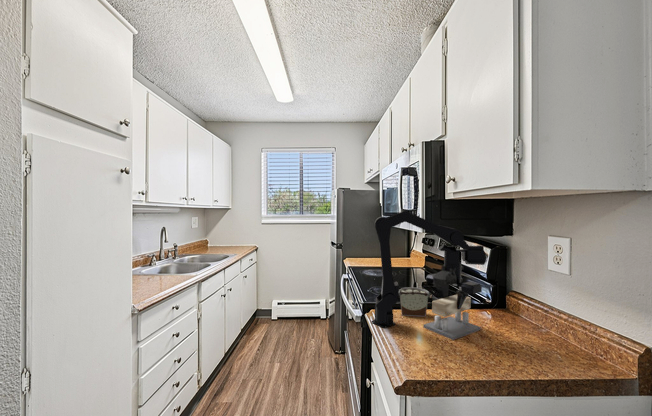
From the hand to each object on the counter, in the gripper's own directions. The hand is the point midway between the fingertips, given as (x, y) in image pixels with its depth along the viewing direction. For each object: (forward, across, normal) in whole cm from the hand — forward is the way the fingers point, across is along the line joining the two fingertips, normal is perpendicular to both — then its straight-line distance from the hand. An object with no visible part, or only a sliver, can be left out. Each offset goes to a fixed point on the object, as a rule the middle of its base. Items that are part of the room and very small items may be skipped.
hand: (451, 307), depth 108 cm
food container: (+8, -18, 0) cm, 20 cm away
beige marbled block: (+1, 0, 0) cm, 1 cm away
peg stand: (+8, 0, 0) cm, 8 cm away
